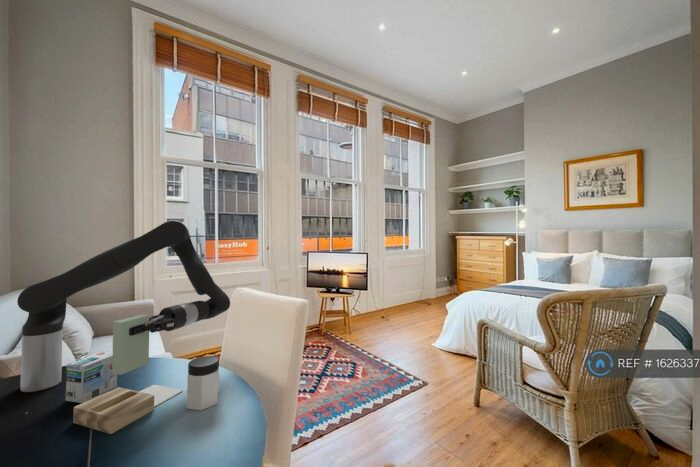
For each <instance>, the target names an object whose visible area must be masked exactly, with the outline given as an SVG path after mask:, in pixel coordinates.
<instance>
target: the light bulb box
mask: <svg viewBox="0 0 700 467" xmlns="http://www.w3.org/2000/svg"><path fill="white" fill-rule="evenodd" d="M112 361H113V352H108V351H107V352H106V351H100V352H97V353H95V354H92V355H90V356H86V357H84V358H81V359H78V360H76V361H72V362H69V363H67V364H66V379H65V383H66V384H65V385H66V386H65V401H66V402H72V403H79V404H82V403H84V402H86V401H89V400H91V399H93V398H95V397H98V396H100V395H102V394H105V393H107V392H109V391H111V390H114V389H116V388H118V386H117V385H118V383H117V382H118V381H117V380H118V375H117V374H112Z"/></svg>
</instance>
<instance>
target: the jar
mask: <svg viewBox="0 0 700 467" xmlns="http://www.w3.org/2000/svg"><path fill="white" fill-rule="evenodd" d="M187 367H188V368H187V373H188V374H187V377H186V378H187V380H186V382H187V388H186V394H187V396H186V399H187V400H186V409H187V410H195V411H203V410H206V409H208V408H210V407H213V406H215V405H217V404H218V401H219V391H220V388H219V387H220V377H219V376H220V358H219V357H217V356H215V355H205V356H200V357H196V358H193V359H192V360H189V362H188V364H187Z"/></svg>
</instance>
